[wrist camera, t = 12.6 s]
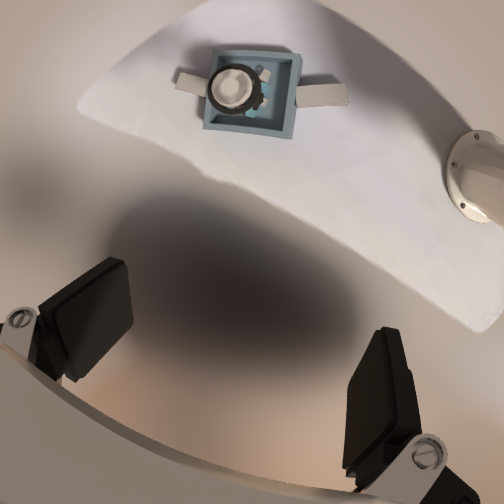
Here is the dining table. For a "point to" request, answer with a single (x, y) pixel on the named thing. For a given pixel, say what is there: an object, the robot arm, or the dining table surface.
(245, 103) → the push button
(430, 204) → the dining table surface
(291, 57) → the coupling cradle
